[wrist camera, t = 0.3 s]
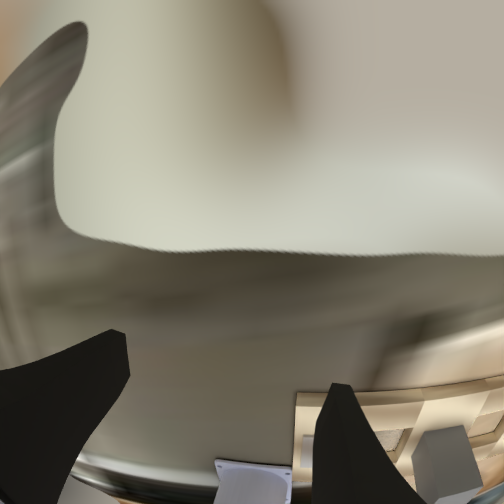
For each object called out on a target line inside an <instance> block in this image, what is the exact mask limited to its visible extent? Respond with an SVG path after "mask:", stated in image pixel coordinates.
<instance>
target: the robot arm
mask: <svg viewBox="0 0 504 504" xmlns="http://www.w3.org/2000/svg"><path fill="white" fill-rule="evenodd" d="M129 377H130V369H129V361H128V354H127V345H126V336H125V333H122V332H119V331H116V330H113V329H110V330H108V331H105V332H103V333H100V334H98V335H96V336H94V337H92V338H89V339H87V340H85V341H83V342H81V343H79V344H76V345H74V346H72V347H70V348H67V349H65V350H63V351H61V352H58V353H56V354H53V355H51V356H48V357H45V358H43V359H40V360H38V361H35V362H32V363H29V364H25V365H22V366H18V367H15V368H10V369H6V370H0V504H57V502H58V499H59V496H60V494H61V491H62V489H63V487H64V484H65V482H66V479H67V477H68V475H69V473H70V471H71V469H72V467H73V465H74V463H75V461H76V459H77V457H78V455H79V453H80V451H81V450H82V448H83V446H84V444H85V443H86V441H87V440H88V438H89V437H90V435H91V434H92V433H93V431H94V430H95V429H96V427H97V426H98V425H99V423H100V422H101V420H102V419H103V418H104V416H105V415H106V414H107V412H108V411H109V410H110V408H111V407H112V406H113V404H114V403H115V402H116V400H117V399H118V397H119V396H120V394H121V392H122V390H123V389H124V387H125V385H126V383H127V381H128V379H129ZM214 463H215V467H216V470H217V473H218V476H219V480H220V485H219V488H218V491H217V494H216V497H215V500H214V503H213V504H289V503H290V501H291V489H292V469H293V468H292V467H286V466H271V465H260V464H250V463H242V462H234V461H227V460H220V459H217V460H215V462H214ZM311 504H427V503H426V502H425V501H424V500H423V499H422V498H421V497H420V496H419V495H418V494H417V493H416V492H415V491H414V490H413V488H412V487H411V486H410V485H409V484H408V482H407V481H406V480H405V479H404V477H403V476H402V475H401V474H400V472H399V471H398V470H397V468H396V467H395V465H394V464H393V462H392V461H391V460H390V458H389V456H388V455H387V453H386V452H385V450H384V449H383V447H382V445H381V444H380V442H379V440H378V439H377V437H376V435H375V433H374V431H373V429H372V428H371V426H370V424H369V422H368V420H367V418H366V416H365V414H364V412H363V410H362V408H361V406H360V404H359V402H358V400H357V398H356V396H355V394H354V391H353V389H352V387H351V386H350V385H346V384H338V383H332V384H331V387H330V389H329V392H328V394H327V397H326V399H325V402H324V404H323V406H322V409H321V411H320V413H319V416H318V418H317V420H316V425H315V432H314V440H313V456H312V502H311Z"/></svg>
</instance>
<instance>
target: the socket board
mask: <svg viewBox="0 0 504 504" xmlns="http://www.w3.org/2000/svg"><path fill="white" fill-rule="evenodd" d="M327 394H328V393H299V392H297V401H296V416H295V436H294V454H293V469H292V481H300V482H312V456H313V440H314V432H315V425H316V420H317V418H318V416H319V413H320V411H321V409H322V406H323V404H324V402H325V399H326V397H327ZM354 394H355V396H356V398H357V400H358V402H359V404H360V406H361V408H362V410H363V412H364V414H365V416H366V418H367V420H368V422H369V424H370V426H371V428H372V429H373V431H383V430H395V429H405V430H404V432H403V434H402V437H401V439H400V441H399V443H398V446H397V448H396V450H395V451H390V452H386V453H387V455H388V456H389V458H390V460H391V461H392V462H393V464H394V465H395V467H396V468H397V470H398V471H399V472H400V474H401V475H402V476H410V475H414V471H413V465H412V460H411V456H412V454H413V452H414V450H415V448H416V446H417V444H418V443H419V441H420V439H421V437H422V435H423V433H424V431H431V430H437V429H443V428H449V427H454V426H459V425H464V428H465V431H466V434H467V433H468V432H469V430H470V428H471V427H472V425H473V423H474V421H475V420H476V418H477V416H481V415H485V414H489V413H493V412H497V411H501V410H504V375H501V376H497V377H492V378H487V379H481V380H476V381H470V382H464V383H457V384H451V385H443V386H436V387H427V388H418V389H407V390H395V391H379V392H356V393H354ZM468 439H469V442H470V445H471V448H472V451H473V454H474V457H475V460H476V461H479V460H483V459H486V458H489V457H492V456H496V455H499V454H502V453H504V416H503V418H502V419H501V421H500V423H499V424H498V426H497V428H496V429H495V431H494V432H492V433H488V434H484V435H481V436H477V437H473V438H468Z"/></svg>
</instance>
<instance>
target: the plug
mask: <svg viewBox="0 0 504 504" xmlns="http://www.w3.org/2000/svg"><path fill="white" fill-rule="evenodd" d="M411 460H412V465H413V471H414V477H415V483H416V490H417V494H418V495H419V496H420V497H421V498H422V499H423V500H424V501H425V502H426V503H427V504H467V503H468V502H469V501H470V500H471V499H472V498H473V497H474V496H475V494H476V493H477V492H478V491H479V490H480V489H481V488H482V487H483V483H482V479H481V476H480V473H479V469H478V466H477V463H476V460H475V457H474V454H473V451H472V448H471V445H470V442H469V439H468V436H467V434H466V431H465V428H464V425H459V426H454V427H449V428H443V429H437V430H431V431H424V433H423V435H422V437H421V439H420V441H419V443H418V444H417V446H416V448H415V450H414V452H413V454H412V456H411Z"/></svg>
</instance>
